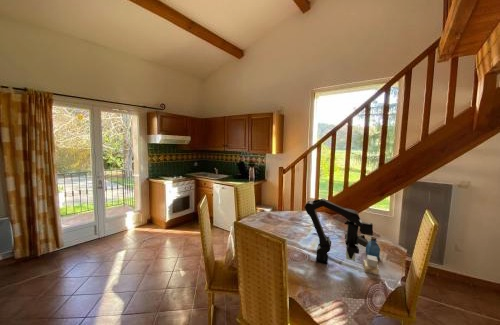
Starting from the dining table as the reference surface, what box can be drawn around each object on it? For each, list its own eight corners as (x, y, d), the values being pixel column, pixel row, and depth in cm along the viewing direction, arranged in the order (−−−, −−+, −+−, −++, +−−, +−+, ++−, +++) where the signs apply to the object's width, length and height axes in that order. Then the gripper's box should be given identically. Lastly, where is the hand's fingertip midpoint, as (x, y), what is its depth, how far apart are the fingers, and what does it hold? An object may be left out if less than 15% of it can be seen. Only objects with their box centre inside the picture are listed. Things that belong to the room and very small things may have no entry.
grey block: (367, 265, 125) (368, 259, 124) (366, 260, 129) (367, 254, 129) (377, 267, 123) (377, 261, 122) (375, 262, 127) (376, 256, 127)
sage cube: (346, 259, 127) (347, 252, 126) (345, 255, 131) (346, 248, 130) (354, 260, 125) (355, 253, 124) (353, 256, 129) (354, 249, 129)
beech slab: (364, 272, 125) (365, 266, 124) (363, 265, 131) (363, 259, 131) (378, 275, 122) (379, 268, 122) (375, 268, 129) (376, 262, 128)
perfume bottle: (369, 256, 140) (370, 239, 139) (365, 251, 146) (367, 235, 145) (379, 257, 139) (380, 240, 138) (375, 252, 145) (376, 236, 144)
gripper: (370, 241, 114) (368, 268, 116) (365, 227, 132) (362, 251, 134) (348, 237, 118) (345, 263, 120) (345, 224, 135) (343, 247, 138)
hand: (350, 256), depth 128 cm, fingers closed on sage cube, 4 cm apart
